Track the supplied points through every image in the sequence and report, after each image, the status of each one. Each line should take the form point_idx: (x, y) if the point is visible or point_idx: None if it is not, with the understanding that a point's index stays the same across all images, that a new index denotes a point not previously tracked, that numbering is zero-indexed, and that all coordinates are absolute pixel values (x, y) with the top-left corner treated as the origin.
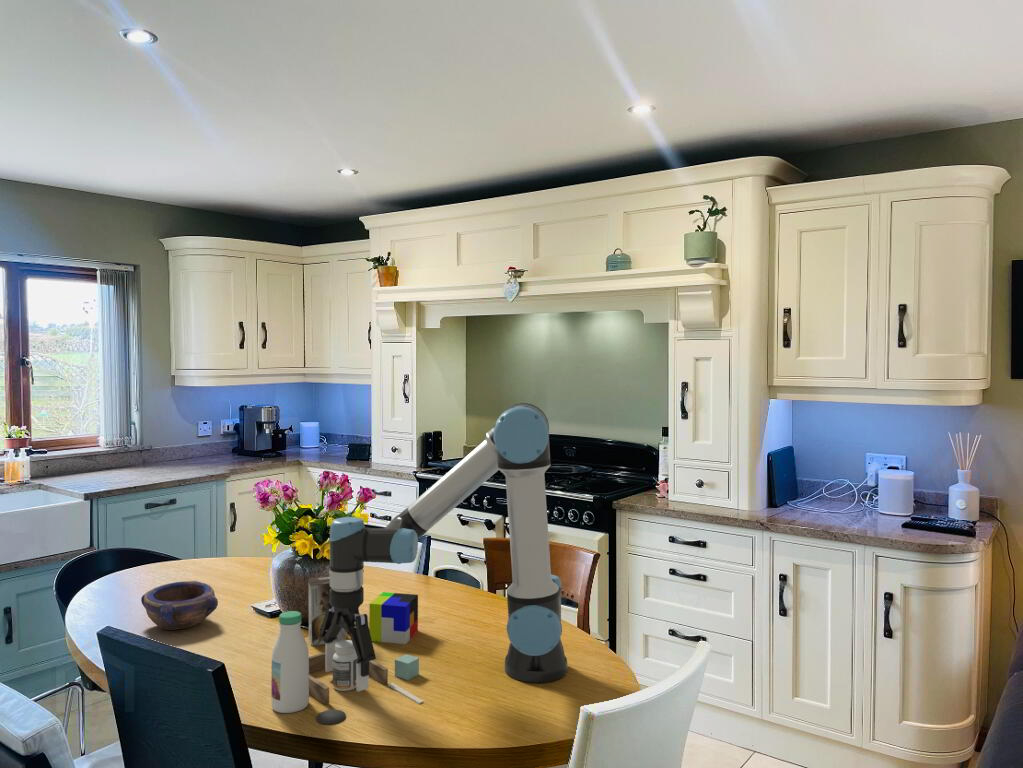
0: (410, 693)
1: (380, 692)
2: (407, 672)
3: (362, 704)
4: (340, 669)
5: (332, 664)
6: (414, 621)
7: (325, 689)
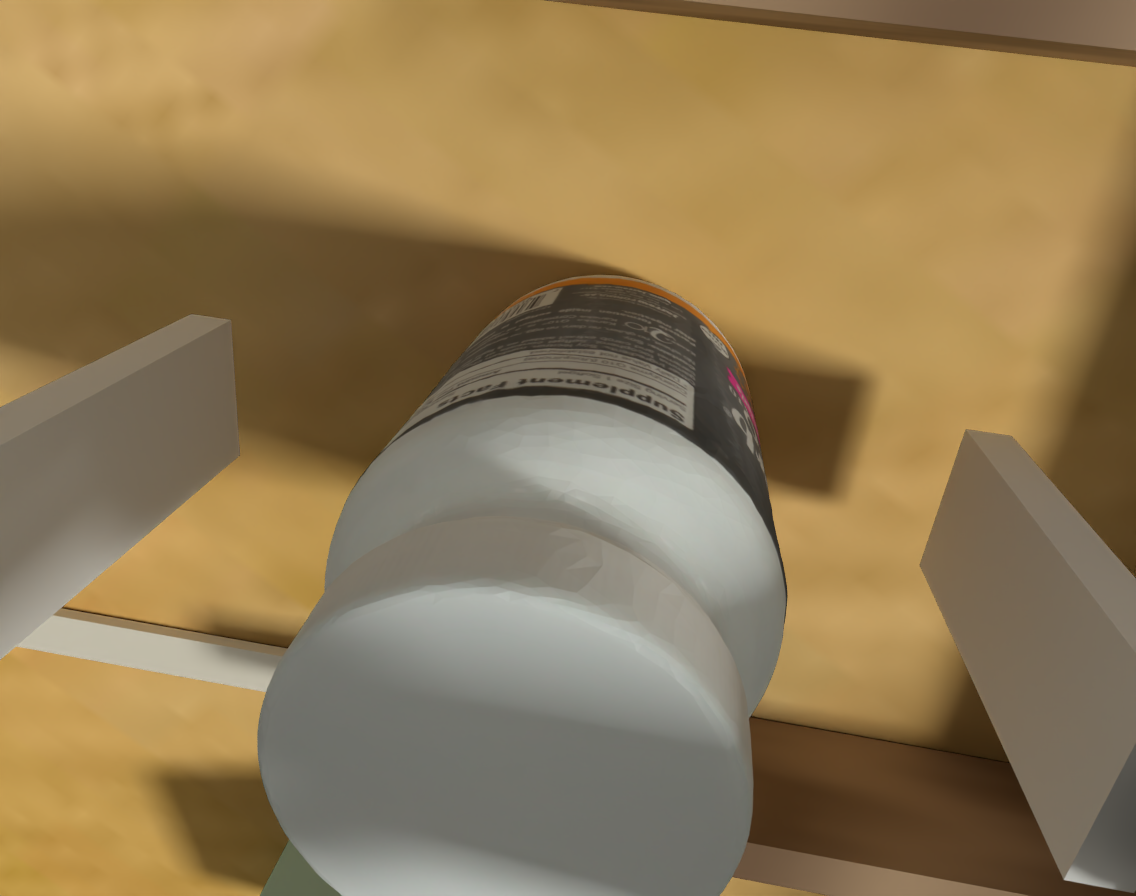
0: (41, 650)
1: (245, 531)
2: (281, 861)
3: (113, 247)
4: (463, 371)
5: (962, 545)
6: None
7: None
